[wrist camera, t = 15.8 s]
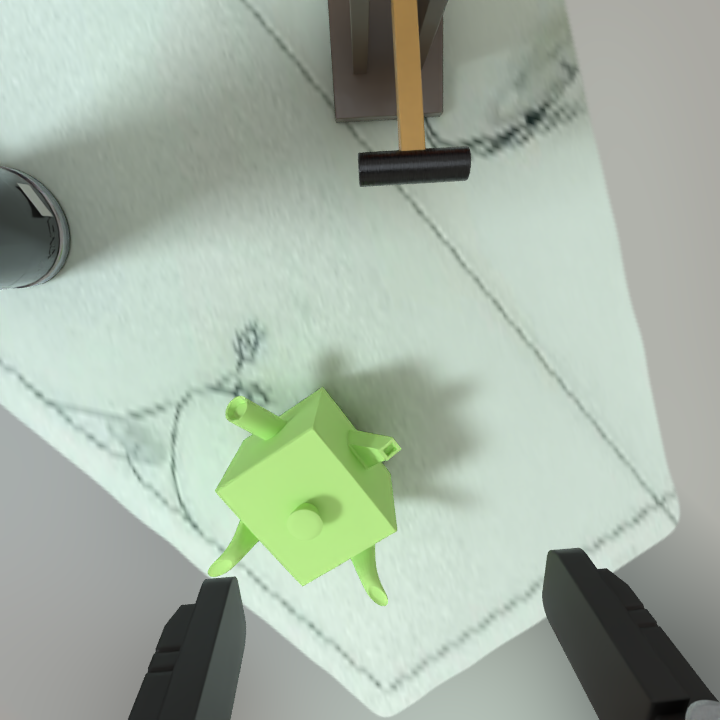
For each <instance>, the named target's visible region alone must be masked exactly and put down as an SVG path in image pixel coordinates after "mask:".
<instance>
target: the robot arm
mask: <svg viewBox="0 0 720 720" xmlns="http://www.w3.org/2000/svg"><path fill="white" fill-rule="evenodd" d="M69 244H70V236H69V229H68V224H67V221H66V218H65V215H64V213H63V211H62V209H61V207H60V205H59V203H58V202H57V200H56V199H55V198H54V196H53V195H52V194H51V193H50V191H49V190H48V189H47V188H46V187H45V186H43V185H42V184H41V183H40V182H39V181H37V180H36V179H35V178H33V177H31V176H30V175H28V174H26V173H24V172H21V171H19V170H16V169H12V168H8V167H2V166H0V290H2V289H9V288H24V287H30V286H35V285H39V284H42V283H44V282H46V281H48V280H50V279H51V278H52V277H54V276H55V275H56V274H57V273H58V272H59V271H60V269H61V268H62V266H63V265H64V263H65V261H66V258H67V255H68V251H69ZM542 599H543V606H544V610H545V613H546V616H547V618H548V620H549V623H550V625H551V627H552V629H553V630H554V632H555V634H556V636H557V638H558V640H559V642H560V644H561V646H562V648H563V650H564V652H565V654H566V656H567V658H568V660H569V661H570V663H571V665H572V667H573V669H574V671H575V673H576V675H577V677H578V679H579V681H580V683H581V684H582V687H583V689H584V691H585V692H586V694H587V696H588V698H589V700H590V702H591V704H592V706H593V708H594V710H595V712H596V714H597V716H598V718H599V720H720V702H719V701H718V700H717V699H716V698H715V697H714V695H713V694H712V693H711V692H710V691H709V689H708V688H707V687H706V685H705V684H704V683H703V681H702V680H701V679H700V678H699V676H698V675H697V674H696V672H695V671H694V670H693V668H692V667H691V666H690V665H689V663H688V662H687V661H686V659H685V658H684V657H683V656H682V654H681V653H680V652H679V650H678V649H677V648H676V646H675V645H674V644H673V643H672V641H671V640H670V639H669V637H668V636H667V635H666V634H665V632H664V631H663V630H662V628H661V627H658V625H657V622H656V621H655V619H654V618H653V617H652V615H651V614H650V613H649V611H648V610H647V609H644V606H643V604H642V603H641V601H640V600H639V599H638V597H637V596H636V595H635V593H634V592H633V591H632V590H631V588H630V587H629V586H628V585H627V584H626V583H625V582H624V581H622V580H621V579H620V578H618V577H617V576H616V575H614V574H613V573H612V572H611V571H609V570H608V569H607V568H606V569H597V568H596V567H595V565H594V564H593V562H592V561H591V560H590V558H589V557H588V556H587V554H586V553H585V552H584V551H583V550H582V549H581V548H571V549H560V550H550V551H549V552H548V555H547V561H546V569H545V576H544V584H543V591H542ZM245 638H246V622H245V616H244V610H243V605H242V600H241V595H240V590H239V585H238V580H237V578H236V577H225V578H213V579H205V580H204V582H203V584H202V586H201V589H200V592H199V595H198V597H197V601H196V603H195V604H188V605H181V606H180V607H179V609H178V610H177V611H176V613H175V614H174V615H173V616H172V617H171V619H170V620H169V621H168V623H167V624H166V625H165V627H164V629H163V632H162V635H161V637H160V639H159V642H158V644H157V647H156V652H155V654H154V655H153V657H152V660H151V662H150V665H149V667H148V673H147V674H146V675H145V677H144V680H143V683H142V685H141V688H140V690H139V693H138V695H137V698H136V700H135V703H134V705H133V708H132V710H131V713H130V715H129V718H128V720H230V719H231V714H232V709H233V703H234V698H235V693H236V688H237V683H238V678H239V673H240V668H241V663H242V658H243V652H244V646H245Z"/></svg>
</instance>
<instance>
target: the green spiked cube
mask: <svg viewBox="0 0 720 720" xmlns="http://www.w3.org/2000/svg"><path fill="white" fill-rule="evenodd" d="M226 418H227V420H228V421H230V422H231V423H233V424H235V425H237V426H239V427H241V428H243V429H245V430H246V431H248V432H250V433H252V435H251V436H249V437H248V438H246V439H245V440H244V441H243V442H242V444H241V446H240V448H239V450H238V451H237V453H236V455H235V457H234V458H233V460H232V462H231V464H230V465H229V467H228V469H227V471H226V472H225V474H224V476H223V478H222V480H221V481H220V483H219V485H218V487H217V488H216V490H215V492H216V493H217V494H218V495H219V497H220V498H221V499H222V500H223V501H224V502H225V503H226V504H227V506H228V507H229V508H230V509H231V510H232V511H233V512H234V513H235V514H236V515H237V517H238V518H239V519H240V522H239V525H238V527H237V530H236V532H235V535H234V537H233V539H232V541H231V542H230V544H229V546H228V547H227V549H226V550H225V551H224V553H223V554H222V555H221V556H220V557H219V558H218V559H217V560H216V561H215V562H214V563H213V564H212V565H211V567H210V568H209V570H208V574H209V576H211V577H217V576H220V575H222V574H224V573H226V572H228V571H229V570H230V569H232V568H233V567H234V566H235V565H236V564H237V563H238V562H239V561H240V560H241V559H242V558H243V557H244V556H245V555H246V554H247V553H248V552H249V551H250V549H251V548H252V547H253V546H254V545H255V544H256V543H257V542H258V541H260V542H261V543H262V544H263V545H264V546H265V547H266V548H267V549H268V550H269V551H270V552H271V554H272V555H273V556H274V557H275V558H276V559H277V560H278V561H279V562H280V563H281V564H282V565H283V566H284V567H285V569H286V570H287V571H288V572H289V573H290V574H291V575H292V576H293V577H294V578H295V579H296V580H297V581H298V582H299V583H300V584H301V585H302V586H304V585H306V584H307V583H309V582H311V581H313V580H314V579H316V578H318V577H320V576H321V575H323V574H325V573H327V572H328V571H330V570H332V569H334V568H335V567H337V566H339V565H340V564H342V563H344V562H346V561H347V560H349V559H351V560H352V562H353V565H354V567H355V569H356V571H357V574H358V576H359V578H360V580H361V582H362V584H363V586H364V588H365V590H366V592H367V594H368V595H369V597H370V598H371V599H372V600H373V601H374V602H375V603H377V604H378V605H380V606H386V605H387V603H388V598H387V595H386V593H385V591H384V589H383V587H382V585H381V583H380V580H379V577H378V574H377V569H376V561H375V544H376V543H377V542H379V541H381V540H382V539H384V538H386V537H387V536H389V535H391V534H393V533H395V532H396V531H397V524H396V515H395V507H394V499H393V491H392V482H391V474H390V473H389V471H388V470H387V469H386V467H385V466H384V465H383V463H382V462H383V461H385V460H386V461H388V460H389V459H390V458H391V457H392V456H394V455H395V454H396V453H397V452H399V451H400V450H401V448H400V446H399V445H398V444H397V443H396V441H395V440H394V439H393V437H388V436H383V435H378V434H372V433H367V432H362V431H357V430H356V429H355V427H354V426H353V425H352V424H351V422H350V421H349V420H348V418H347V417H346V416H345V415H344V413H343V412H342V411H341V409H340V408H339V407H338V406H337V404H336V403H335V402H334V401H333V399H332V398H331V397H330V395H329V394H328V393H327V392H326V390H325V389H324V388H323V387H322V388H320V389H319V390H317V391H316V392H314V393H313V394H311V395H310V396H308V397H307V398H305V399H304V400H303V401H301V402H300V403H298V404H297V405H295V406H294V407H292V408H291V409H289V410H288V411H286V412H285V413H283V414H282V415H280V416H279V417H278V416H276V415H275V414H273V413H271V412H269V411H268V410H266V409H264V408H262V407H260V406H259V405H257V404H255V403H253V402H252V401H250V400H248V399H246V398H245V397H243V396H238V397H236V398H234V399H233V400H232V401H231V402H230V403H229V404H228V406H227V409H226Z"/></svg>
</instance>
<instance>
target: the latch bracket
mask: <svg viewBox="0 0 720 720" xmlns="http://www.w3.org/2000/svg"><path fill="white" fill-rule="evenodd" d="M447 2H448V0H417V9H418V26H419V44H420V61H421V79H422V96H423V114H424V117H438V116H440V115H441V114H442V112H443V12H444V10H445V7H446V4H447ZM328 9H329V25H330V41H331V57H332V72H333V88H334V104H335V119H336V122H337V123H341V122H357V121H373V120H389V119H397V103H396V85H395V66H394V48H393V30H392V12H391V0H328Z"/></svg>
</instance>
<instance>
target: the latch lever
mask: <svg viewBox="0 0 720 720" xmlns="http://www.w3.org/2000/svg"><path fill="white" fill-rule="evenodd" d="M391 12H392V30H393V48H394V66H395V85H396V103H397V121H398V139H399V150H396V151H379V152H363V153H358V167H359V185H360V187H367V186H384V185H401V184H418V183H435V182H451V181H466V180H467V179H468V177H469V174H470V168H471V153H470V149H469V147H468V146H462V147H446V148H429V149H425V132H424V114H423V96H422V79H421V61H420V44H419V26H418V9H417V0H391Z"/></svg>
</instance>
